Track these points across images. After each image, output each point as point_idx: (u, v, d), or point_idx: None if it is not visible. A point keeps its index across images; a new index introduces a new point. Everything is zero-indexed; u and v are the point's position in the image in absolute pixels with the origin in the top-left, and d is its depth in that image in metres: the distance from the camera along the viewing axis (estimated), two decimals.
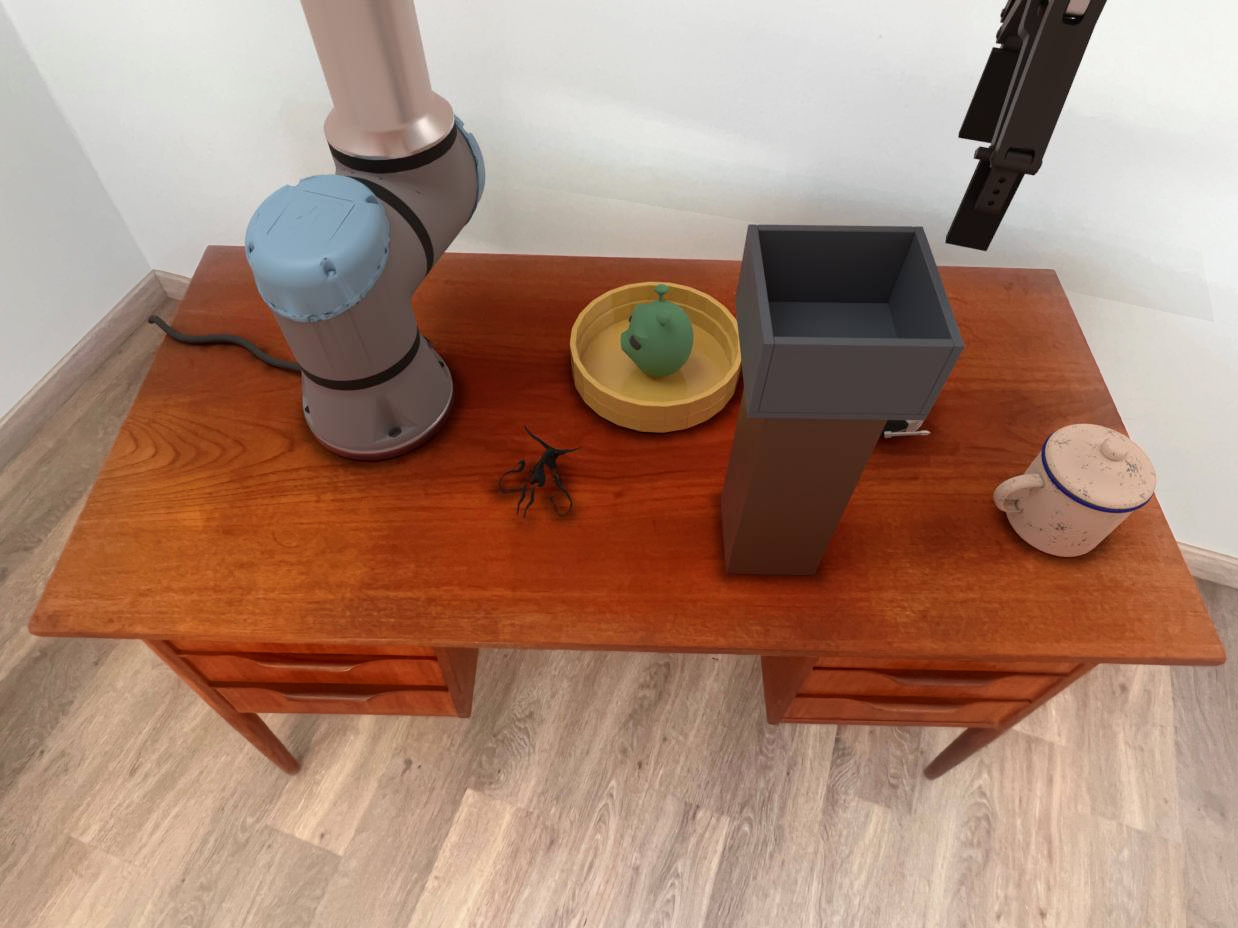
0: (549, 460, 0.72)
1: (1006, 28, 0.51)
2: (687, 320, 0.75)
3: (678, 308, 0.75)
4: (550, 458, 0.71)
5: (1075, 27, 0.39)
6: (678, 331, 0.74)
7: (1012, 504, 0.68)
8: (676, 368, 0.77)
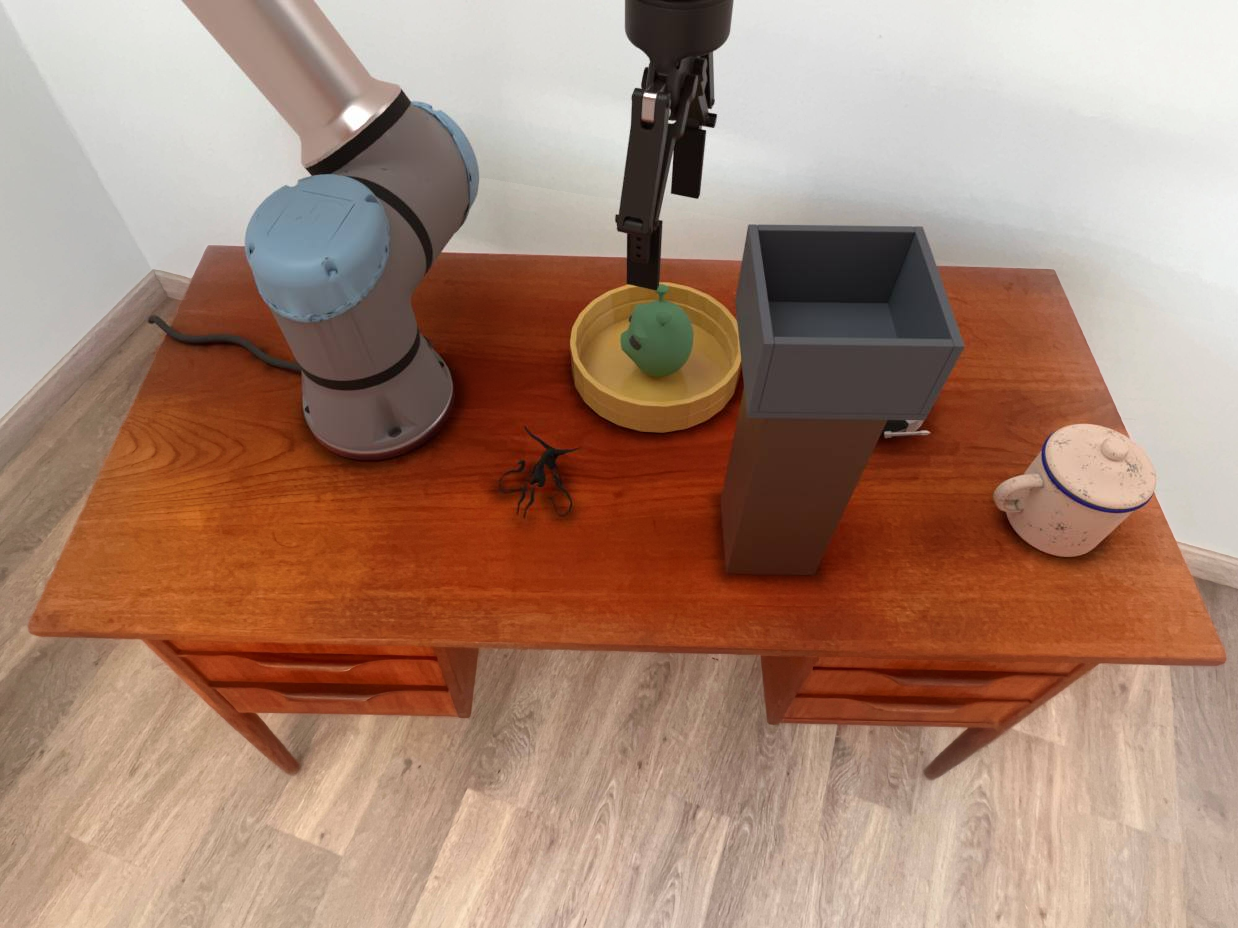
0: (549, 460, 0.72)
1: None
2: (687, 320, 0.75)
3: (678, 308, 0.75)
4: (550, 458, 0.71)
5: (650, 131, 0.52)
6: (678, 331, 0.74)
7: (1012, 504, 0.68)
8: (676, 368, 0.77)
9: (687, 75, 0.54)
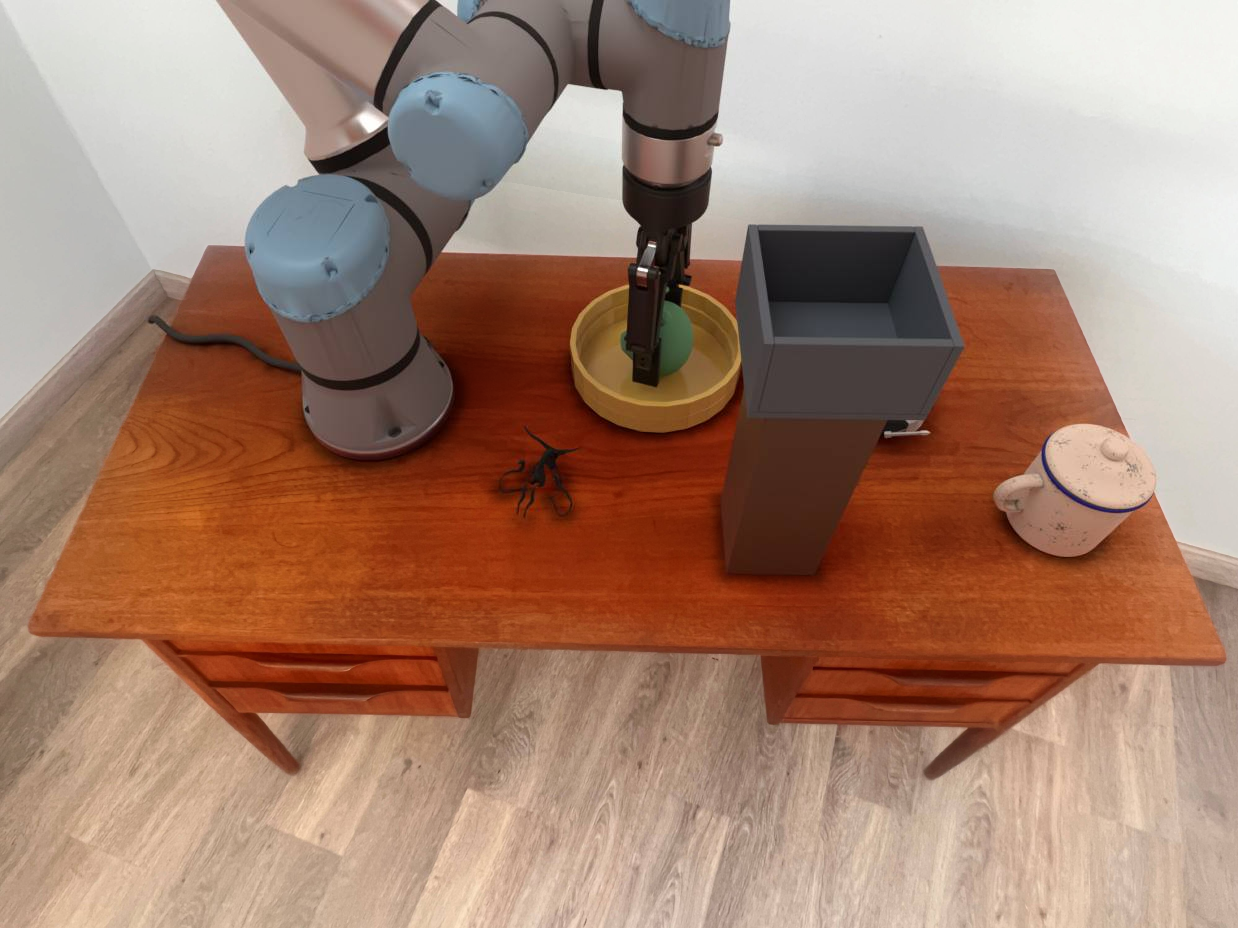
0: (549, 460, 0.72)
1: (659, 269, 0.75)
2: (687, 320, 0.75)
3: (678, 308, 0.75)
4: (550, 458, 0.71)
5: (645, 292, 0.65)
6: (678, 331, 0.74)
7: (1012, 504, 0.68)
8: (676, 368, 0.77)
9: (673, 235, 0.65)
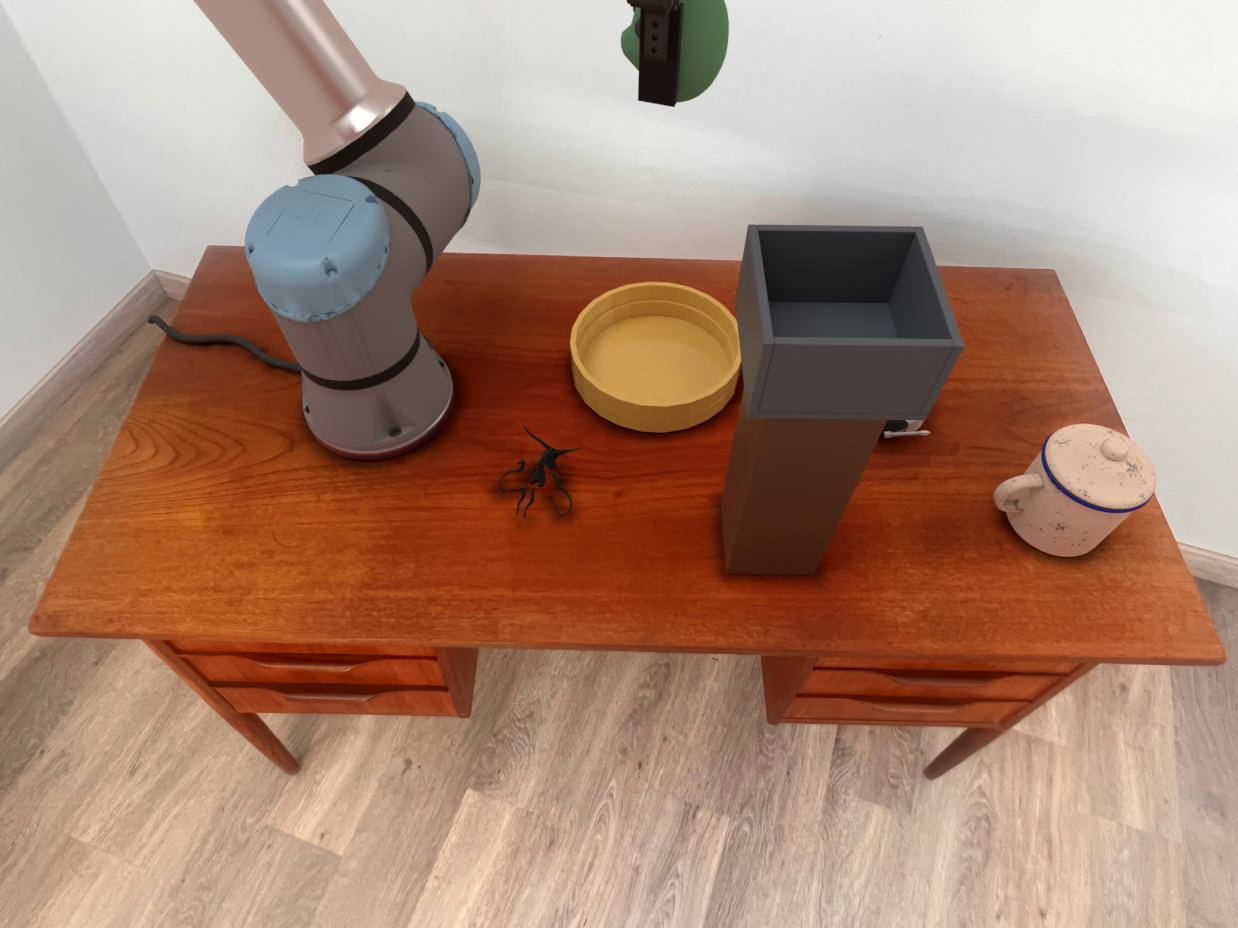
0: (549, 460, 0.72)
1: None
2: None
3: None
4: (550, 458, 0.71)
5: None
6: (709, 4, 0.49)
7: (1012, 504, 0.68)
8: (703, 78, 0.52)
9: None
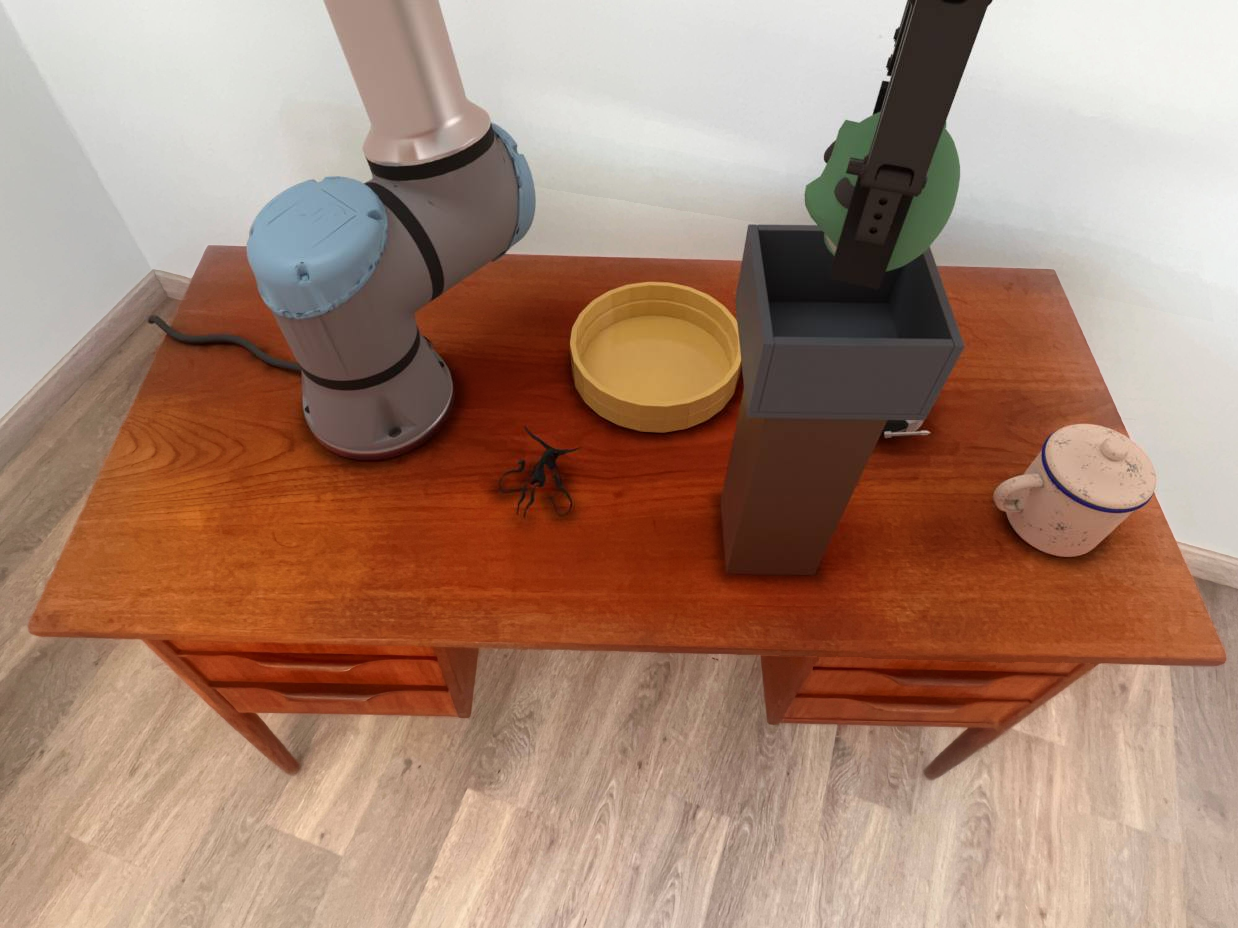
0: (549, 460, 0.72)
1: (898, 41, 0.37)
2: (955, 147, 0.37)
3: None
4: (550, 458, 0.71)
5: (959, 7, 0.26)
6: (946, 164, 0.36)
7: (1012, 504, 0.68)
8: (920, 251, 0.39)
9: None
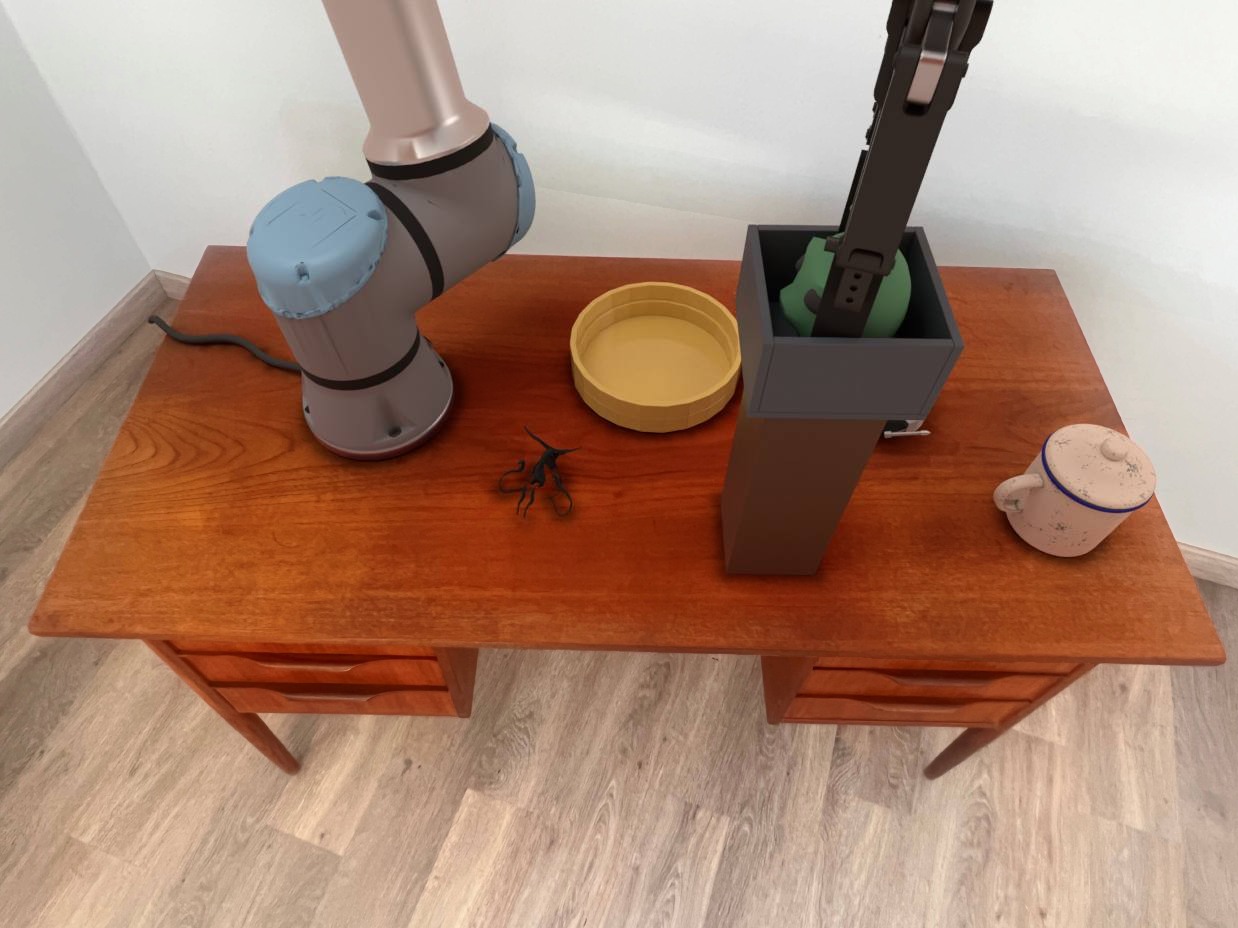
0: (549, 460, 0.72)
1: (875, 119, 0.40)
2: (906, 263, 0.43)
3: None
4: (550, 458, 0.71)
5: (920, 119, 0.30)
6: (897, 280, 0.42)
7: (1012, 504, 0.68)
8: None
9: (976, 0, 0.30)
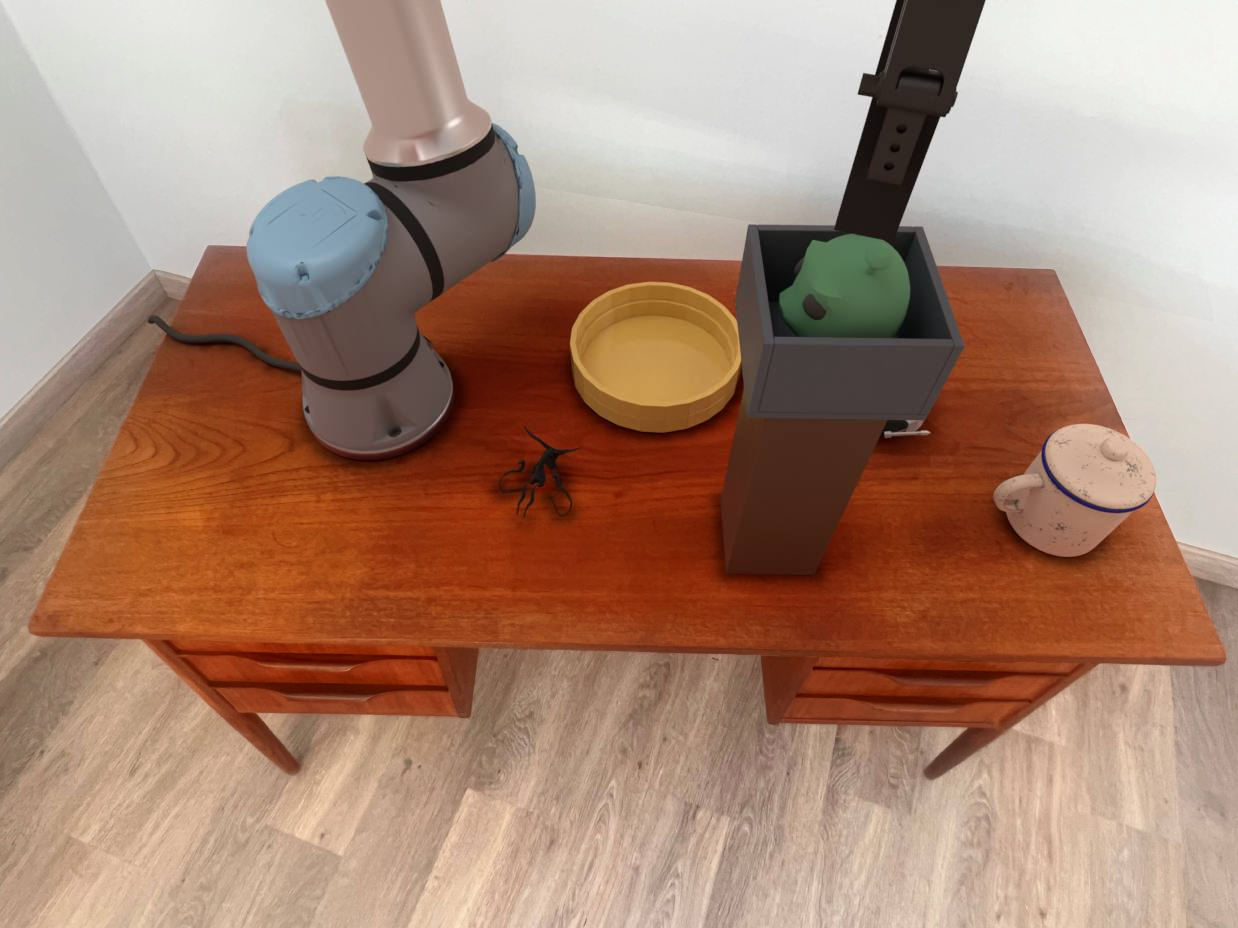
0: (549, 460, 0.72)
1: None
2: (905, 267, 0.43)
3: (891, 246, 0.43)
4: (550, 458, 0.71)
5: None
6: (896, 285, 0.42)
7: (1012, 504, 0.68)
8: None
9: None
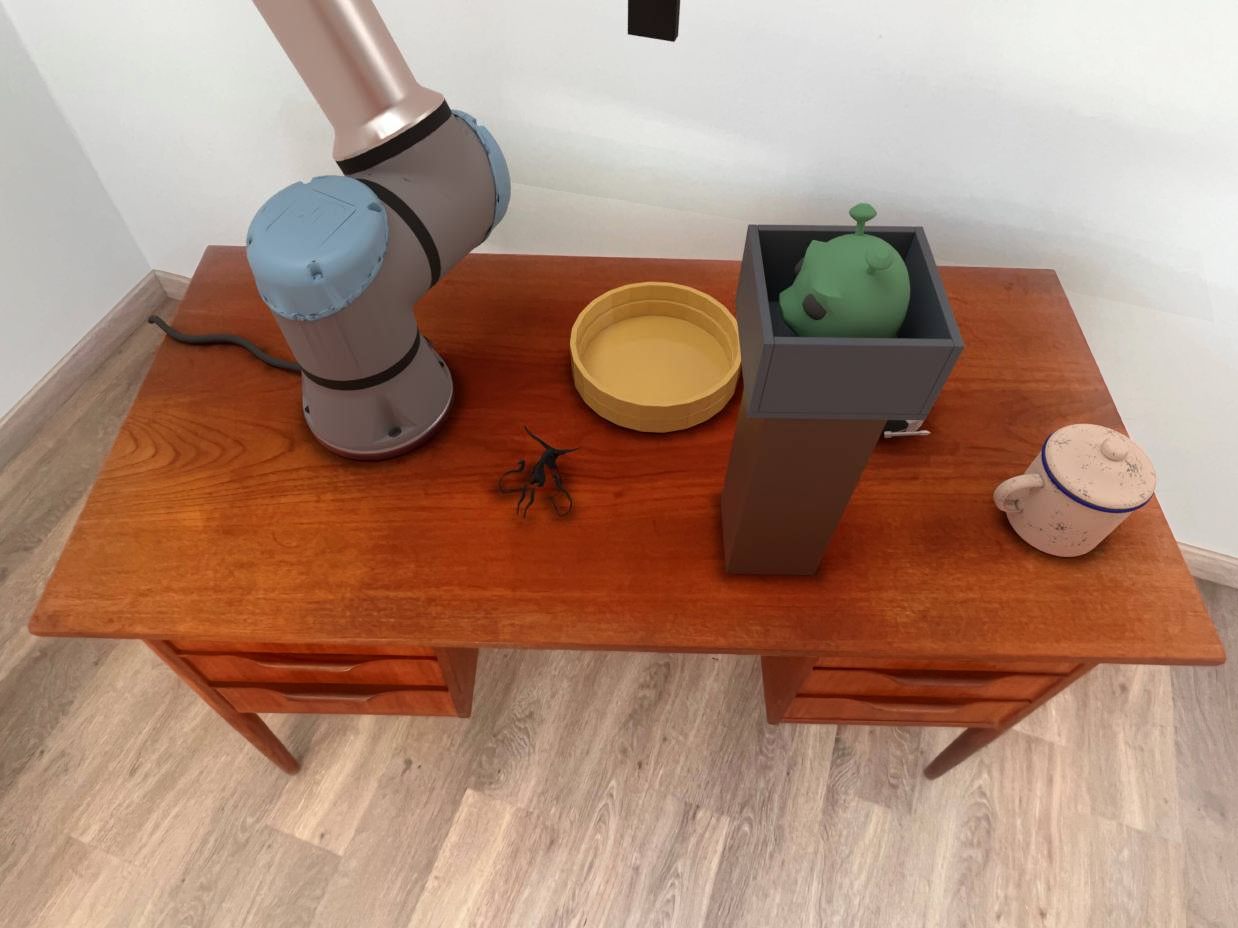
0: (549, 460, 0.72)
1: None
2: (905, 267, 0.43)
3: (891, 246, 0.43)
4: (550, 458, 0.71)
5: None
6: (896, 285, 0.42)
7: (1012, 504, 0.68)
8: None
9: None
